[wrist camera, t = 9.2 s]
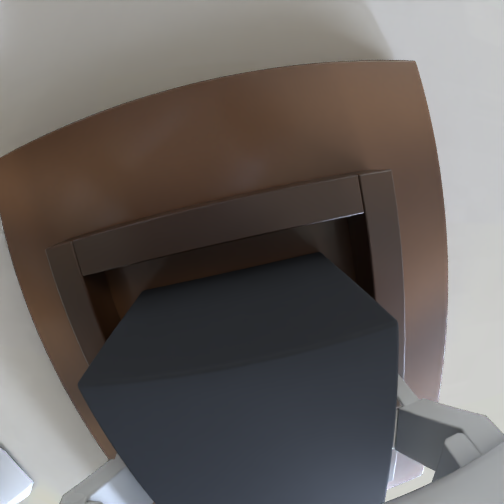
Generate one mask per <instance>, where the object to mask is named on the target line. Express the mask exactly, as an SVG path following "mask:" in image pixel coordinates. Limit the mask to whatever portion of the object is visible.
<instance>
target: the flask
mask: <svg viewBox="0 0 504 504" xmlns="http://www.w3.org/2000/svg"><path fill="white" fill-rule="evenodd" d="M32 485H33V481H32V480H31V479H30V478H29V477H28V476H27V475H26V474H25V473H24V471H23V470H22V469H21V468H20V467H19V466H18V465H17V464H16V463H15V461H14V460H13V459H12V458H11V457H10V456H9V455H8V453H7V452H5V451H4V450H3V449H2V448H0V504H17V503H19V502H20V501H22V500H23V499H24V498H26V497H27V496H28V495H30V492H31V489H32Z"/></svg>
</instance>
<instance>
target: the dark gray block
mask: <svg viewBox="0 0 504 504" xmlns="http://www.w3.org/2000/svg"><path fill="white" fill-rule="evenodd" d="M398 359H399V326H398V322H397V320H396V319H395V318H394V317H393V316H392V315H391V314H390V313H389V312H387V311H386V310H385V309H384V308H383V307H382V306H381V305H380V304H379V303H378V302H376V301H375V300H374V299H373V298H372V297H371V296H370V295H369V294H368V293H366V292H365V291H364V290H363V289H362V288H361V287H360V286H359V285H357V284H356V283H355V282H354V281H353V280H352V279H351V278H350V277H348V276H347V275H346V274H345V273H344V272H343V271H342V270H340V269H339V268H338V267H337V266H336V265H335V264H334V263H332V262H331V261H330V260H329V259H328V258H327V257H325V256H324V255H323V254H322V253H321V252H316V253H311V254H307V255H303V256H298V257H294V258H289V259H285V260H280V261H276V262H272V263H267V264H263V265H258V266H254V267H249V268H245V269H240V270H236V271H231V272H227V273H222V274H217V275H213V276H208V277H204V278H199V279H194V280H190V281H185V282H180V283H176V284H171V285H166V286H162V287H157V288H152V289H147V290H144V291H142V292H141V294H140V295H139V296H138V298H137V299H136V300H135V302H134V303H133V305H132V306H131V307H130V309H129V310H128V311H127V313H126V314H125V316H124V317H123V318H122V320H121V321H120V322H119V324H118V325H117V327H116V328H115V329H114V331H113V332H112V334H111V335H110V336H109V338H108V339H107V341H106V342H105V344H104V345H103V346H102V348H101V349H100V351H99V352H98V354H97V355H96V357H95V358H94V359H93V361H92V362H91V364H90V365H89V367H88V368H87V370H86V371H85V373H84V374H83V376H82V377H81V379H80V380H79V382H78V388H79V390H80V392H81V394H82V396H83V398H84V400H85V401H86V403H87V405H88V407H89V408H90V410H91V412H92V414H93V415H94V417H95V419H96V420H97V422H98V424H99V425H100V427H101V429H102V430H103V432H104V433H105V435H106V437H107V438H108V440H109V441H110V443H111V444H112V446H113V447H114V449H115V450H116V452H117V453H118V455H119V456H120V458H121V459H122V461H123V462H124V463H125V465H126V466H127V468H128V469H129V470H130V472H131V473H132V474H133V476H134V477H135V478H136V480H137V481H138V482H139V484H140V485H141V486H142V488H143V489H144V490H145V491H146V493H147V494H148V495H149V496H150V498H151V499H152V500H153V501H154V503H155V504H382V503H384V502H385V497H386V491H387V485H388V479H389V472H390V465H391V458H392V450H393V441H394V431H395V420H396V407H397V390H398Z"/></svg>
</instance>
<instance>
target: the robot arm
mask: <svg viewBox="0 0 504 504" xmlns="http://www.w3.org/2000/svg"><path fill="white" fill-rule="evenodd" d="M393 449H395V450H396V451H398V452H400V453H402V454H404V455H405V456H407V457H409V458H411V459H413V460H415V461H417V462H419V463H421V464H422V465H424V466H426V467H428V468H430V469H432V470H434V471H435V474H434V477H433V480H432V483H430V484H427V485H425V486H423V487H421V488H419V489H416V490H414V491H412V492H410V493H407V494H405V495H402V496H400V497H397V498H395V499H392V500H390V501H387V502H385V503H382V504H504V434H503V433H502V432H501V431H500V430H499V429H498V428H497V427H496V425H495V424H494V423H493V422H492V421H491V420H490V419H489V418H488V417H487V416H486V415H482V414H478V413H474V412H470V411H466V410H463V409H459V408H455V407H452V406H448V405H445V404H441V403H438V402H434V401H431V400H428V399H424V398H423V399H421V400H419V399H418V397H417V396H416V395H415V394H414V392H413V391H412V390H411V389H410V387H409V386H408V385H407V384H406V383H405V381H404V380H403V379H402V378H401V376H400V375H399V374H398V390H397V407H396V420H395V431H394V441H393ZM153 502H154V501H153V500H152V499H151V498H150V496H149V495H148V494H147V493H146V491H145V490H144V489H143V488H142V486H141V485H140V484H139V482H138V481H137V480H136V478H135V477H134V476H133V474H132V473H131V472H130V470H129V469H128V468H127V466H126V465H125V463H124V462H123V461H122V459H121V458H120V456H119V455H118V453H117V454H116V457H115V459H110V460H109V461H108V462H106V463H105V464H104V465H103V466H101V467H100V468H99V469H97V470H96V471H95V472H94V473H92V474H91V475H90V476H88V477H87V478H86V479H84V480H83V481H82V482H80V483H79V484H78V485H76V486H75V487H74V488H72V489H71V490H70V491H68V492H67V493H65V494H64V495H63V496H62V499H61V501H60V504H152V503H153Z"/></svg>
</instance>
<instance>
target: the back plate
mask: <svg viewBox="0 0 504 504" xmlns="http://www.w3.org/2000/svg"><path fill="white" fill-rule="evenodd" d="M0 216H1V220H2V224H3V229H4V233H5V237H6V241H7V244H8V248H9V252H10V255H11V259H12V262H13V265H14V269H15V272H16V275H17V278H18V281H19V284H20V287H21V290H22V293H23V296H24V299H25V301H26V304H27V307H28V309H29V312H30V314H31V317H32V320H33V322H34V324H35V327H36V329H37V332H38V334H39V336H40V339H41V341H42V343H43V345H44V348H45V350H46V352H47V354H48V356H49V358H50V361H51V363H52V365H53V367H54V369H55V371H56V373H57V375H58V377H59V379H60V381H61V382H62V384H63V386H64V388H65V390H66V392H67V394H68V395H69V397H70V399H71V401H72V403H73V404H74V406H75V408H76V409H77V411H78V413H79V415H80V416H81V418H82V420H83V421H84V423H85V424H86V426H87V428H88V429H89V431H90V432H91V434H92V435H93V437H94V438H95V440H96V441H97V443H98V444H99V446H100V447H101V449H102V450H103V452H104V453H105V455H106V456H107V458H108V459H109V460H110V459H115V457H116V454H117V452H116V450H115V449H114V447H113V446H112V444H111V443H110V441H109V440H108V438H107V437H106V435H105V433H104V432H103V430H102V429H101V427H100V425H99V424H98V422H97V420H96V419H95V417H94V415H93V414H92V412H91V410H90V408H89V407H88V405H87V403H86V401H85V400H84V398H83V396H82V394H81V392H80V390H79V388H78V382H79V380H80V379H81V377H82V376H83V374H84V373H85V371H86V370H87V368H88V367H89V365H90V364H91V362H92V361H93V359H94V358H95V357H96V355H97V354H98V352H99V351H100V349H101V348H102V346H103V345H104V344H105V342H106V341H107V339H108V338H109V336H110V335H111V334H112V332H113V331H114V329H115V328H116V327H117V325H118V324H119V322H120V321H121V320H122V318H123V317H124V316H125V314H126V313H127V311H128V310H129V309H130V307H131V306H132V305H133V303H134V302H135V300H136V299H137V298H138V296H139V295H140V294H141V292H142V291H144V290H147V289H152V288H157V287H162V286H166V285H171V284H176V283H180V282H185V281H190V280H194V279H199V278H204V277H208V276H213V275H217V274H222V273H227V272H231V271H236V270H240V269H245V268H249V267H254V266H258V265H263V264H267V263H272V262H276V261H280V260H285V259H289V258H294V257H298V256H303V255H307V254H311V253H316V252H321V253H322V254H323V255H324V256H325V257H327V258H328V259H329V260H330V261H331V262H332V263H334V264H335V265H336V266H337V267H338V268H339V269H340V270H342V271H343V272H344V273H345V274H346V275H347V276H348V277H350V278H351V279H352V280H353V281H354V282H355V283H356V284H357V285H359V286H360V287H361V288H362V289H363V290H364V291H365V292H366V293H368V294H369V295H370V296H371V297H372V298H373V299H374V300H375V301H376V302H378V303H379V304H380V305H381V306H382V307H383V308H384V309H385V310H386V311H387V312H389V313H390V314H391V315H392V316H393V317H394V318H395V319H396V320H397V322H398V326H399V359H398V374H399V375H400V376H401V378H402V379H403V380H404V381H405V383H406V384H407V385H408V386H409V387H410V389H411V390H412V391H413V392H414V394H415V395H416V396H417V397H418V399H419V400H421V399H423V398H424V399H428V400H431V401H434V402H438V400H439V394H440V387H441V380H442V372H443V364H444V354H445V343H446V329H447V310H448V253H447V233H446V219H445V208H444V198H443V189H442V181H441V174H440V167H439V161H438V154H437V149H436V143H435V138H434V133H433V128H432V123H431V118H430V114H429V109H428V105H427V101H426V97H425V93H424V89H423V86H422V82H421V78H420V75H419V71H418V68H417V65H416V62H415V61H408V60H360V61H338V62H324V63H312V64H302V65H293V66H285V67H277V68H270V69H264V70H257V71H251V72H245V73H240V74H234V75H229V76H224V77H219V78H215V79H210V80H206V81H201V82H197V83H193V84H189V85H185V86H181V87H177V88H173V89H170V90H166V91H162V92H159V93H156V94H152V95H149V96H146V97H142V98H139V99H136V100H133V101H130V102H127V103H124V104H121V105H118V106H115V107H112V108H109V109H107V110H104V111H101V112H99V113H96V114H93V115H91V116H88V117H86V118H83V119H81V120H78V121H76V122H73V123H71V124H68V125H66V126H64V127H61V128H59V129H57V130H55V131H52V132H50V133H48V134H46V135H44V136H42V137H40V138H37V139H35V140H33V141H31V142H29V143H27V144H25V145H23V146H21V147H19V148H17V149H15V150H13V151H12V152H10V153H8V154H6V155H4V156H2V157H1V158H0ZM423 470H424V465H422V464H421V463H419V462H417V461H415V460H413V459H411V458H409V457H407V456H405V455H404V454H402V453H400V452H398V451H396V450H395V449H393V450H392V458H391V465H390V472H389V479H388V485H387V489H389V488H392V487H395V486H397V485H400V484H402V483H404V482H407V481H409V480H412V479H414V478H416V477H418V476H421V475H422V473H423ZM152 504H155V503H154V502H153V503H152Z"/></svg>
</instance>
